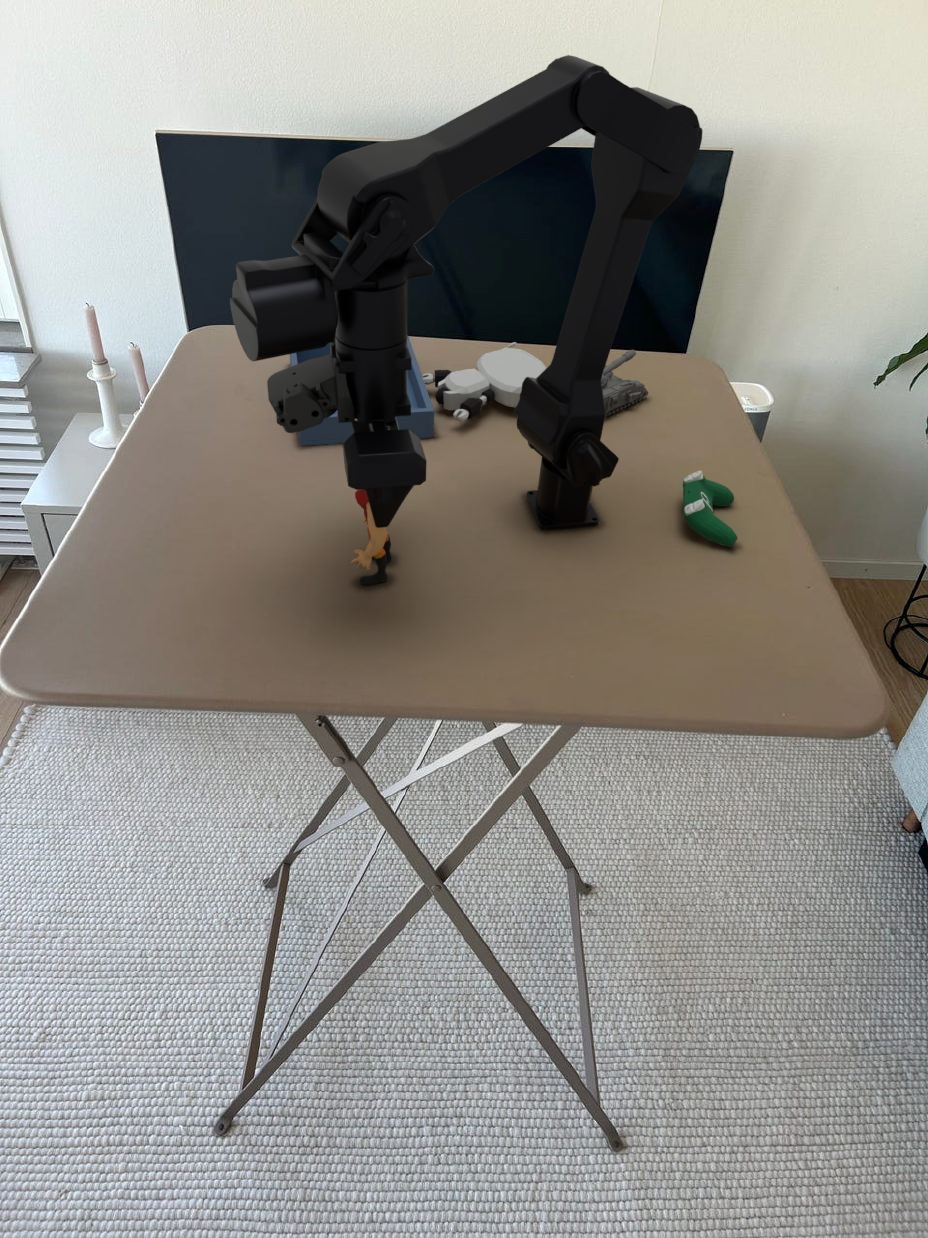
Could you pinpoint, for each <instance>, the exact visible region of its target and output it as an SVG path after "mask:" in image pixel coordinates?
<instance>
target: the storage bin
mask: <svg viewBox="0 0 928 1238" xmlns="http://www.w3.org/2000/svg"><path fill="white" fill-rule="evenodd" d="M407 346H408V349H409V352H410V355H411V370H407V393H408V397H409V400H410V403H411V416H396V419H397V423H398V427H399V430H404V429H409V430H410V431H411V432H412V433H414V434H415V435H416V436H417V437H419V438H420V439H432V438H434V428H435V427H434V426H435V410H434V406H433V403H432V400H431V398H430V395H429V392H428V389H427V386H426V384H425V383H424V380H423V377H422V375H423V374H422V372H421V368H420V366H419V363H418V360H417V357H416V355H415V351H414V349H413V345H412V342H411V340H410V336H409V335H407ZM329 354H330V343H327V345H326V346H325V347H323V348H318V349H313V350H308V351H303V352H298V353H293V354H289V362H290V367H292V366H294V365H297V364H299V363H302V362H304V361H307V360H310V359H313V358H320V357H323V356H326V355H329ZM353 433H354V430H353V426H352V422H345V423H339V422H338V415H337V411H336V412H335V413H334V414H333V415H332V416H330V417H328V418H325V419H323V422H322V423H321V424H319V425H316V426H314V427H311V428H308V429H306V430H303V431H301V432H298V436H299V443H300V447H305V446H321V445H322V446H323V445H339V444H343V443H344V442H345V441H346V440H347V439H348V438H349V437H350V436H351V435H352V434H353Z"/></svg>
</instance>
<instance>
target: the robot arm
mask: <svg viewBox="0 0 928 1238" xmlns="http://www.w3.org/2000/svg"><path fill="white" fill-rule="evenodd" d="M581 129H582V130H583V131H584V132H587V133H588V134H590V135H591V136H593V137H594V143H593V149H592V155H591V163H590V164H591V165H590V168H591V169H590V170H591V174H592V183H593V188H594V190H593V191H594V197H595V210H594V214H593V217H592V221H591V225H590V227H589V231H588V234H587V238H586V240H585V245H584V248H583V251H582V256H581V259H580V262H579V265H578V269H577V273H576V276H575V280H574V283H573V287H572V290H571V293H570V297H569V301H568V304H567V307H566V311H565V315H564V318H563V322H562V325H561V328H560V332H559V336H558V339H557V342H556V345H555V348H554V353H553V357H552V358H551V359H552V360H551V362H550V364H549V365H548V366H546V367H547V368H546V369H545V370H544V371H543V372H542V373H541V374H540V375H539V376H538V377H537V378H531V377H526V378H525V379H524V381H523V383H522V390H521V396H520V400H519V402H518V405H517V406H516V408H515V407H514V410H513V411H512V412H513V414H514V415H515V416H516V428H517V430H518V431H519V433H520V435H521V436H522V438H523V439H525V440H526V442H527V445H528V447H529V448H530V450H534V451H535V452H536V453H537V454H538V455H539V456H540V457H541V460H540V468H539V474H538V475H539V476H538V485H537V489H533V490H527V491H526V493H525V497H526V499H527V502H528V504H529V506H530V508H531V511H532V513H533V515H534V517H535V520H536V522H537V525H538V527H539V528H540V530H541V529H542V530H554V529H567V528H576V527H578V528H579V527H588V526H589V527H590V526H597V525H599V522H600V518H599V516H598V514H597V513H596V511H595V509H594V507H593V505H592V503H591V499H592V493H593V488H594V487H597V486H600V484H601V482H602V481H603V480H604V479H607V478H610V477H611V476H612V475H613V473H614V471H615V469H616V467H617V465H618V462H619V460H620V459H619V457H618V456H617V455H616V454H615V453H614V451H612V450H611V449H610V448H609V447H608V446H606V444H605V443H603V441H602V440H601V439H602V436H603V429H604V424H605V419H606V417H605V414H606V411H605V404H604V397H603V390H602V383H601V379H602V374H603V371H604V368H605V365H606V364H607V361H608V358H609V355H610V352H611V349H612V347H613V343H614V340H615V337H616V334H617V331H618V328H619V325H620V322H621V319H622V317H623V314H624V313H623V312H624V309H625V306H626V303H627V300H628V297H629V295H630V291H631V287H632V285H633V282H634V279H635V276H636V273H637V269H638V267H639V264H640V261H641V257H642V254H643V251H644V248H645V245H646V242H647V239H648V237H649V236H648V235H649V234H650V230H651V228H652V227H651V226H652V225H653V223H654V221H655V220H656V219H657V218H658V217H659V216H660V215H661V214H662V213H663V212H664V211H665V210H666V209H667V208H669V206H670V205H671V204H672V203H673V202H674V201H675V200H676V199H677V198H678V197H679V195H681V192H682V190H683V188H684V187H685V184H686V181H687V179H688V177H689V175H690V173H691V171H692V169H693V166H694V164H695V162H696V160H697V158H698V155H699V153H700V149H701V145H702V142H703V141H702V140H703V128H702V127H701V125H700V121H699V118H698V115H697V114H696V112H695V110H694V109H693V108H691V107H689V106H688V105H685V104H683V103H680V102H677V101H674V100H672V99H669V98H667V97H664V96H661V95H659V94H656V93H654V92H650V91H648V90H646V89H643V88H640V87H638V86H634V87H632V86H631V87H630V86H629V85H626V84H625V83H623V82H622V81H620V80H619V79H617V78H616V77H614V76H613V75H611V73H610V72H609V71H608V70H607V69H606V68H605V67H604V66H601V65H599V64H596V63H594V62H591V61H589V60H586V59H583V58H580V57H578V56H575V55H570V54H567V55H563V56H560V57H557V58H554V59H553V61H551V62H550V63H549V64H548V65H547V67H546V68H545V69H543V70H542V71H540V72H538V73H536V74H535V75H532V76H531V77H529V78H527V79H525V80H523V81H521V82H519V83H518V84H516V85H514V86H512V87H510V88H509V89H507V90H505V91H503V92H501V93H499V94H497V95H495V96H494V97H492V98H490V99H488V100H486V101H484V102H483V103H481V104H479V105H477V106H475V107H473V108H472V109H470V110H468V111H466V112H464V113H462V114H461V115H458V116H457V117H455V118H453V119H451V120H449V121H447V122H445V123H444V124H442V125H440V126H439V127H437V128H435V129H433V130H430V131H429V132H427V133H426V134H422V135H419V136H415V137H412V138H406V139H405V138H404V139H398V140H387V141H377V142H375V143H372V144H369V145H366V146H362V147H359V148H356V149H352V150H349V151H346V152H343V153H341V154H339V155H337V156H335V157H334V158H333V159H331V160H330V161H329V162H328V163H326V165H325V166H324V168H323V169H322V172H321V175H322V176H321V178H320V182H319V184H318V187H317V197H316V199H315V200H314V202H313V204H312V206H311V208H310V210H309V211H308V213H307V214H306V216H305V217H304V218H305V219H304V220H303V222H302V223H301V226H300V227H299V229H298V231H297V233H296V235H295V236H294V238H293V240H292V242H291V248H292V249H293V250H294V252H296V253H297V254H298V255H296V256H295V255H293V256H289V257H288V256H287V257H282V258H275V259H270V260H256V259H252V260H244V261H238V262H237V263H236V265H235V270H236V278H237V279H235V280H234V281H233V283H232V288H231V289H232V290H231V292H232V294H231V296H232V297H231V298H229V304H230V311H231V316H232V320H233V321H232V322H233V326H234V328H235V332H236V335H237V338H238V341H239V343H240V345H241V348H242V350H243V352H244V354H245V355H246V357H247V359H248V360H250V361H251V362H258V361H263V360H268V359H274V358H279V357H283V356H287V355H290V354H293V353H298V352H303V351H308V350H313V349H318V348H323V347H325V346H326V345H327V343H330V354H329V355H326V356H323V357H320V358H313V359H310V360H307V361H304V362H302V363H299V364H297V365H294V366H292V367H291V366H289V367H287V368H286V367H285V368H284V369H282V370H278V371H276V372H275V373H273V374H272V375H270V376H269V377H268V379H267V380H266V386H267V387H266V388H267V397H268V402H269V403H270V405H271V407H272V409H273V411H274V413H275V418H276V423H277V425H279V426H281V427H282V428H283V429H284V432H286V433H288V434H294V433H299V432H301V431H303V430H306V429H308V428H311V427H314V426H316V425H319V424H321V423H322V422H323V419H325V418H328V417H330V416H332V415H333V414H334V413H335V412H336V411H337V415H338V422H339V423H345V422H352V426H353V430H354V433H353V434H352V435H351V436H350V437H349V438H348V439H347V440H346V441H345V442H344V443H342V452H343V454H342V455H343V463H344V464H343V465H344V471H345V477H346V482H347V486H348V487H349V488H352V489H353V490H356V491H357V490H360V489H364V490H365V491H366V493H367V497H368V501H369V504H370V508H371V512H372V515H373V519H374V523H375V526H376V527H377V528H383V527H386V528H387V527H389V526H390V524H391V523H392V521H393V519H394V518H395V516H396V514H397V513H398V511H399V509H400V507H401V506H402V504H403V503H404V502H405V499H406V498H407V496H409V494H410V492H411V490H413V488H414V487H415V486H421V485H422V484H424V483H426V481H427V458H426V454H425V452H424V449H423V445H422V443H421V438H419V437H417V436H416V435H415V434H414V433H412V432H411V431H410V430H409V429H404V430H399V427H398V423H397V419H396V416H411V403H410V400H409V397H408V393H407V370H411V355H410V352H409V349H408V346H407V336H408V281H409V280H412V279H417V278H423V277H428V276H432V275H433V274H434V273H435V267H434V265H433V264H431V263H430V262H429V261H427V260H426V259H425V258H424V257H423V256H422V255H421V253H420V252H419V251H418V249H417V247H416V245H415V244H417V243H418V242H419V241H421V239H423V238H424V237H425V236H427V235H428V234H429V233H430V232H432V230H434V229H435V228H436V226H437V225H438V223H439V222H440V220H441V218H442V217H443V215H444V214H445V212H446V210H447V208H448V207H449V206H450V205H451V204H452V203H454V202H455V201H456V200H457V199H459V198H460V197H461V196H463V195H464V194H466V193H468V192H470V191H471V190H474V189H475V188H477V187H479V186H480V185H482V184H485V183H486V182H488V181H490V180H491V179H493V178H496V177H497V176H498V175H500V174H503V173H504V172H505V171H507V170H509V169H512V167H515V166H516V165H518V164H520V163H522V162H524V161H525V160H527V159H529V158H531V157H533V156H535V155H537V154H538V153H540V152H541V151H544V150H545V149H547V148H549V147H551V146H552V145H554V144H556V143H558V142H560V141H561V140H563V139H565V138H567V137H568V136H571V135H572V134H574V133H575V132H577V131H579V130H581ZM337 235H339V236H340V237H341V238H343V239H344V240H345V241H346V242H348V243H349V244H348V245H347V247H346V249H345V250H344V251H342V250H341V249H340V247H338V246H337V245H336V244H334V243H333V242H332V241H331V240H333V238H335V237H336V236H337Z"/></svg>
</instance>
